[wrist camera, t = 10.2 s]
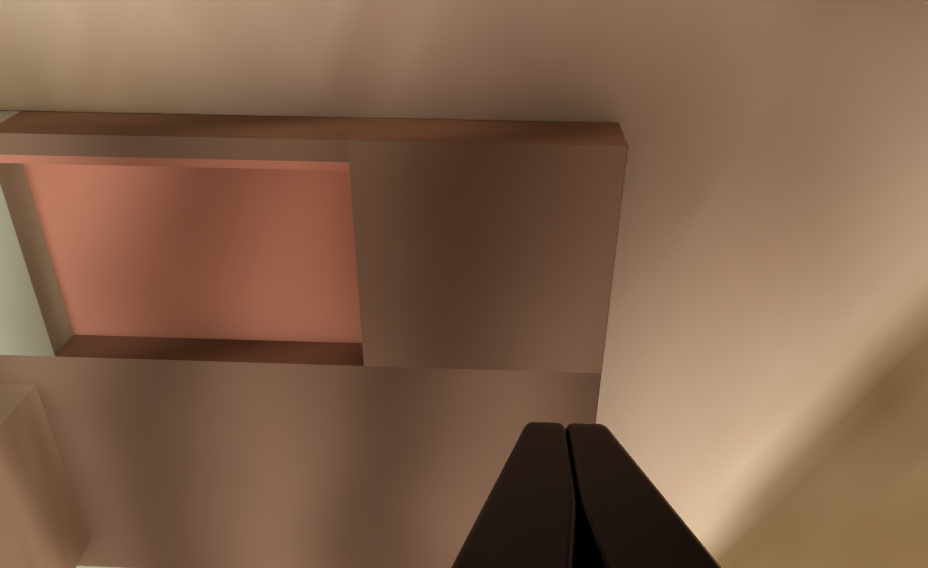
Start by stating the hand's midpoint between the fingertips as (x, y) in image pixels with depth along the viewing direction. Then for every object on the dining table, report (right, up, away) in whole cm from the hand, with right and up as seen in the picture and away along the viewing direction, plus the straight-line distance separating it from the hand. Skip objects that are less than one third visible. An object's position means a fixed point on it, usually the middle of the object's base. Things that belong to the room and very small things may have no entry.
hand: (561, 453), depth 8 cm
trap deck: (-9, -3, +15) cm, 18 cm away
